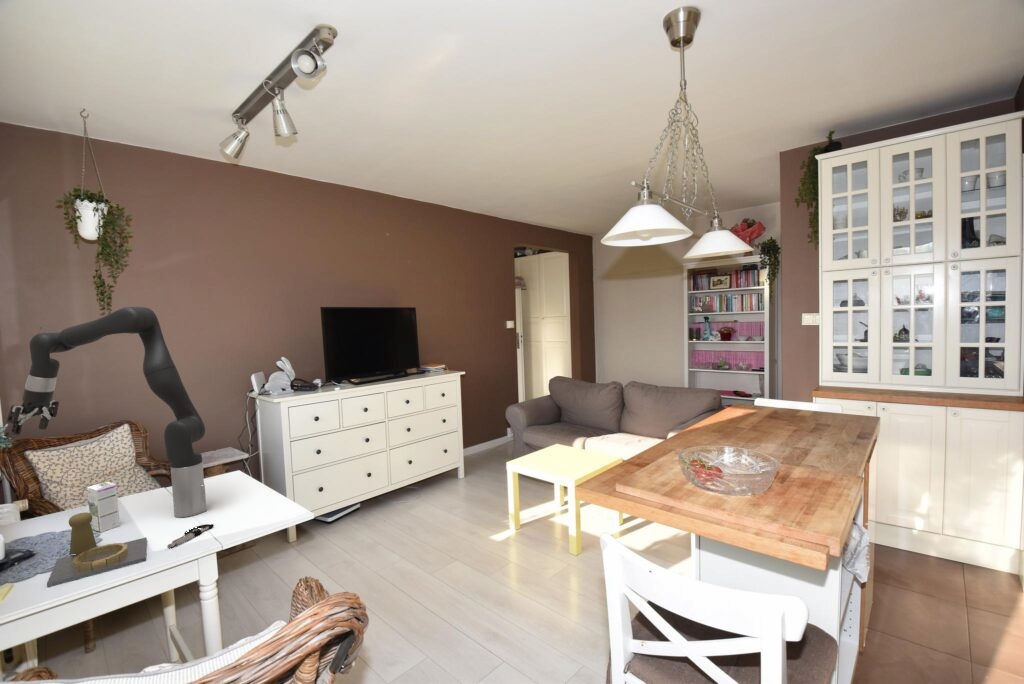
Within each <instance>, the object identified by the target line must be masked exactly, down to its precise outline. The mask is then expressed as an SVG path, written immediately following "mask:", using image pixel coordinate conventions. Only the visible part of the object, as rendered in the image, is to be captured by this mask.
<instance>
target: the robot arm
mask: <svg viewBox="0 0 1024 684" xmlns="http://www.w3.org/2000/svg"><path fill="white" fill-rule="evenodd" d="M119 334H138V336H139V338H140V339H141V342H142V345H143V347H144V348H143V349H144V356H143V364H142V372H143V376H144V378H145V380H146V383H147V385H148V387H149V389H150V390H151V392H153V393H154V395H155V396H156V397H158V398H159V399H160V400H161V401H163V403H165V404H166V405H167V406H169V408H170V409H171V410H172V412H173V414H174V416H175V419H176V420H174V421H171V422H169V423H168V425H166V426H165V429H164V432H163V433H164V435H163V436H164V437H163V438H164V446H165V454H166V458H167V460H168V463H169V465H170V473H171V474H170V476H171V478H170V479H171V488H172V489H171V490H172V501H173V502H172V503H173V514H174V517H176V518H187V517H193V516H196V515H199V514H201V513H204V512H207V499H206V487H205V486H206V485H205V478H204V465H203V464H204V463H203V455H202V453H200V452H195V451H194V448H193V443H197V442H198V441H200V440H202V439H203V438H204V436H205V433H206V427H205V426H206V425H205V424H204V421H203V419H202V417H201V415H200V413H199V412H198V411H197V409H196V407H195V405H194V403H193V402H192V400H191V398H190V395H189V393H188V392H187V389H186V387H185V385H184V383H183V381H182V378H181V376H180V373H179V371H178V369H177V367H176V365H175V363H174V361H173V359H172V355H171V353H170V351H169V349H168V346H167V344H166V341H165V337H164V335H163V332H162V328H161V325H160V322H159V319H158V317H157V314H156V313H155V312H154V311H153V310H152V309H151V308H149V307H145V306H126V307H122V308H119V309H117V310H115V311H113V312H111V313H108V314H107V315H104V316H103V317H102V316H101V317H100V318H97V319H95V320H91V321H87V322H83V323H80V324H76V325H72V326H69V327H66V328H63V329H62V330H61V331H60V332H39V333H36V334H35V335H33V336H32V338H31V339H30V342H29V350H30V351H29V352H30V358H31V366H30V370H29V373H28V376H27V378H26V381H25V384H24V385H25V386H24V390H23V393H22V397H21V398H22V404H21V405H15V404H13V405H11V407H10V409H9V413H8V415H7V420H6V422H7V424H8V423H9V424H11V425H12V426H11V433H12V434H13V435H14V436H15V435H16V436H19V435H20V434H21V431H22V426H23V424H24V423H25V421H27V420H29V419H30V418H31V417H35V416H40V417H41V418H40V421H39V424H38V429H40V430H43V431H44V430H46V429H47V428H48V426H49V422H50V420H51V418H53V417H54V418H55V417H57V414H58V409H59V403H60V402H59V401H57V400H54V394H55V390H56V386H57V379H58V374H59V369H60V361H59V360H57V359H54V358H53V357H52V358H51V354H54V353H55V354H56V353H64V352H68V351H71V350H73V349H75V348H77V347H80V346H85V345H88V344H91V343H94V342H97V341H98V340H100V339H102V338H104V337H106V336H110V335H119Z"/></svg>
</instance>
